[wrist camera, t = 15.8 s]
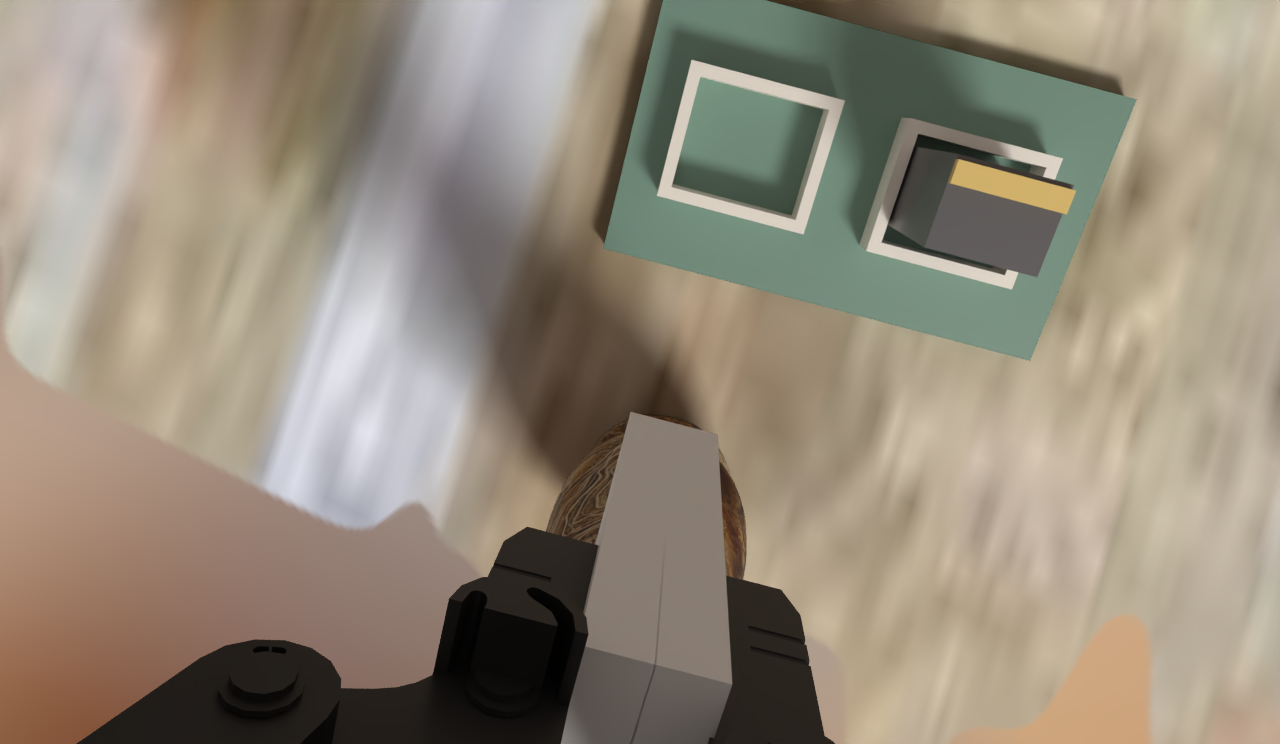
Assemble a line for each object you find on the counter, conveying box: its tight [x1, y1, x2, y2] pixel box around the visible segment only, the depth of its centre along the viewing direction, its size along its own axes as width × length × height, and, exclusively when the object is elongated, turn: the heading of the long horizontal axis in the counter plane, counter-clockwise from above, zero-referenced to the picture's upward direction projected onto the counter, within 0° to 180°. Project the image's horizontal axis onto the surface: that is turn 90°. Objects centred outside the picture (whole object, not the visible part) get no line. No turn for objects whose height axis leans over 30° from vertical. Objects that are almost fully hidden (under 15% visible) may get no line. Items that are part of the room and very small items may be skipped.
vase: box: [546, 415, 747, 580], centre depth 38 cm, size 10×11×30 cm
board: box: [603, 0, 1137, 361], centre depth 45 cm, size 24×14×3 cm, turn 76°
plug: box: [888, 146, 1076, 277], centre depth 40 cm, size 5×4×9 cm
